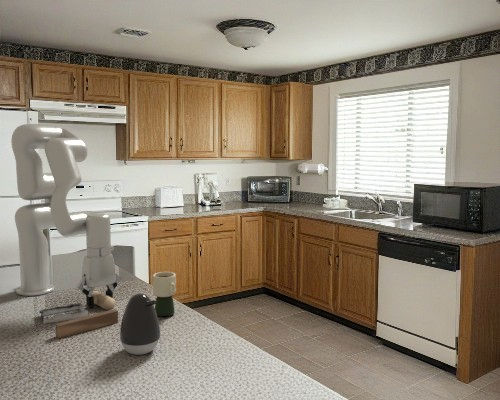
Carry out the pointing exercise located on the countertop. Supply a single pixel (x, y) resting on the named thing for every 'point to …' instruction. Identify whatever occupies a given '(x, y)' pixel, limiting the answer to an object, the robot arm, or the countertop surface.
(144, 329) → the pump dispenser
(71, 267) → the countertop surface
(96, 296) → the roller
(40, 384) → the countertop surface
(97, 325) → the stop rail
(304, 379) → the countertop surface
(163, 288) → the character mug
